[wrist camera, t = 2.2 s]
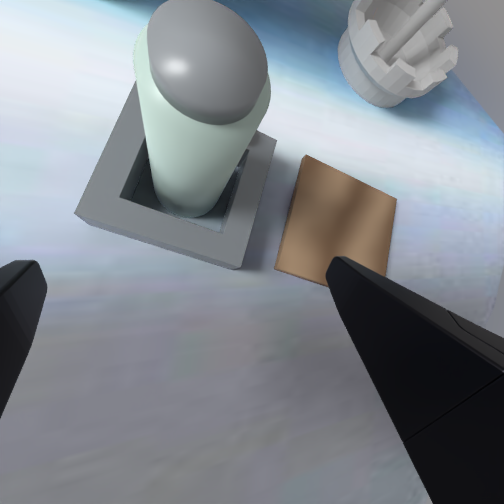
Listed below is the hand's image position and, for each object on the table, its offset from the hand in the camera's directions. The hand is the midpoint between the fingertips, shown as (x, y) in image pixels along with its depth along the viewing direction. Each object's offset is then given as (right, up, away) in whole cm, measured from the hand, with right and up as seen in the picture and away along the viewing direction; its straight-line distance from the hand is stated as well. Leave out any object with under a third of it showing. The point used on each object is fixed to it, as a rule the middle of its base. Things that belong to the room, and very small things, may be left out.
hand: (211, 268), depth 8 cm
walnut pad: (+10, +3, +18) cm, 21 cm away
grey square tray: (-4, +6, +13) cm, 15 cm away
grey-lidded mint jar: (-4, +6, +13) cm, 15 cm away
